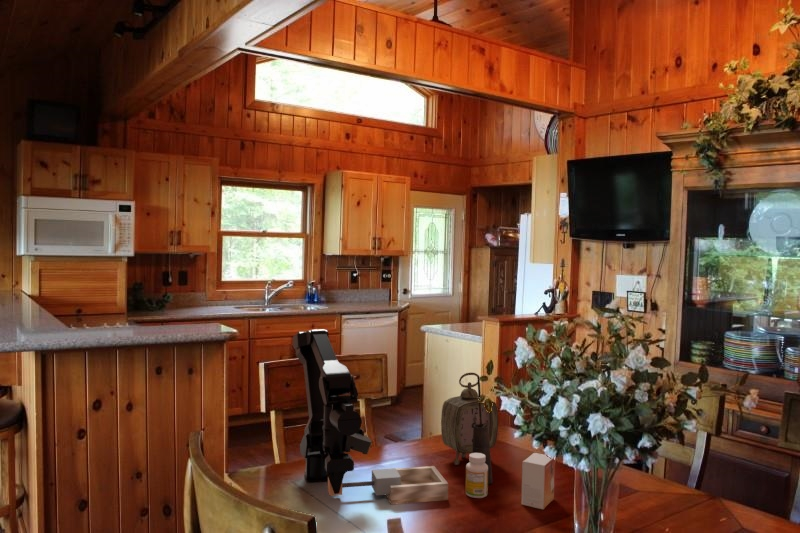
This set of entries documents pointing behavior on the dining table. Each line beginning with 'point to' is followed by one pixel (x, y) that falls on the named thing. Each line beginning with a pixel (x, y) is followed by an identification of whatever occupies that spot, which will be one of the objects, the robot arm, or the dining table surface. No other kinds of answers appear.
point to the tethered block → (375, 482)
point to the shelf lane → (419, 486)
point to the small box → (537, 481)
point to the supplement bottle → (477, 476)
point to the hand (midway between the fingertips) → (334, 488)
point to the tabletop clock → (466, 420)
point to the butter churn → (482, 439)
